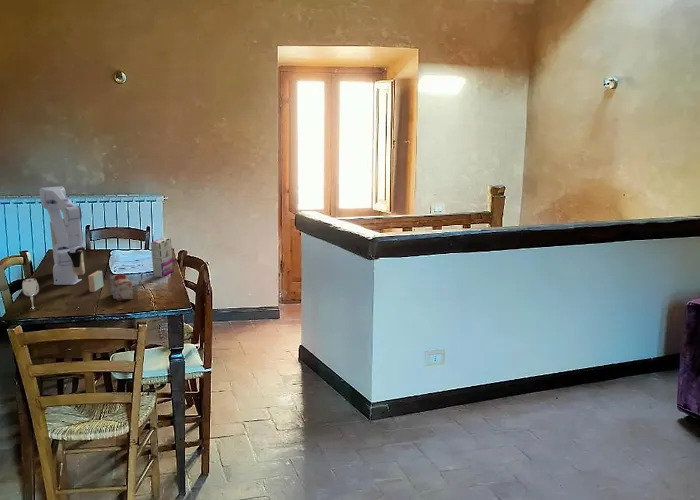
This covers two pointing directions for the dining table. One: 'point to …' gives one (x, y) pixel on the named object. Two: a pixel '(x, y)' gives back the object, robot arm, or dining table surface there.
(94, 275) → the terracotta tile
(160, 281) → the dining table surface
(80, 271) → the beech stick
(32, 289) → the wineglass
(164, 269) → the candy bar box
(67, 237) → the robot arm
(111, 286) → the food item
